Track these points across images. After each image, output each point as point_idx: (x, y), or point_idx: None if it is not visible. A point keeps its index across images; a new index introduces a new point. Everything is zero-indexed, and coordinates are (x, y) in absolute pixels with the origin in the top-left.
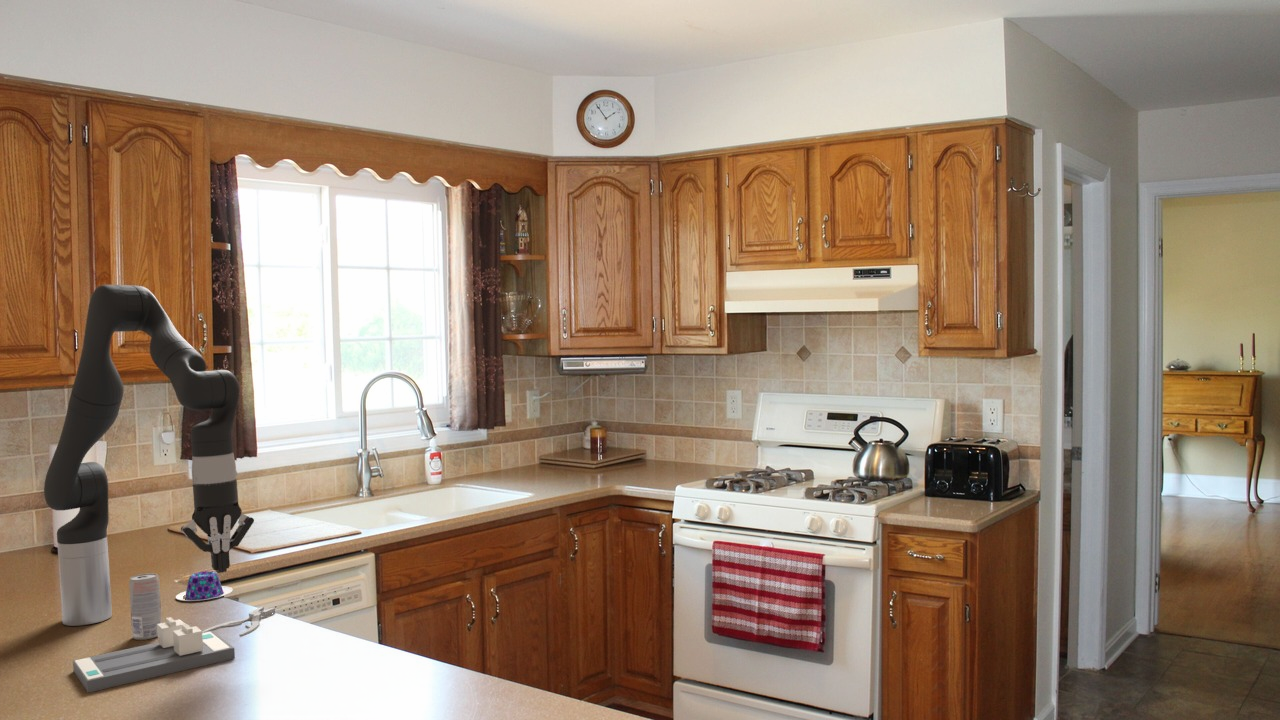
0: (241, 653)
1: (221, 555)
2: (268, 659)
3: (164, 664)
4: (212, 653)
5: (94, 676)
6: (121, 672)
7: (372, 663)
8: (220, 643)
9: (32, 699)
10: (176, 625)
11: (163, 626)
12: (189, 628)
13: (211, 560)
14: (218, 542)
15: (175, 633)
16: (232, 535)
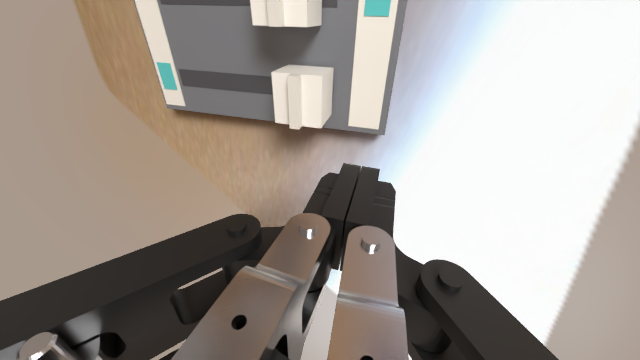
0: (409, 107)
1: (340, 260)
2: (421, 177)
3: (266, 120)
4: (343, 129)
5: (173, 97)
6: (207, 109)
7: (499, 297)
8: (377, 86)
9: (117, 67)
10: (285, 23)
11: (257, 1)
12: (294, 123)
13: (312, 197)
14: (307, 328)
15: (273, 96)
16: (464, 335)
